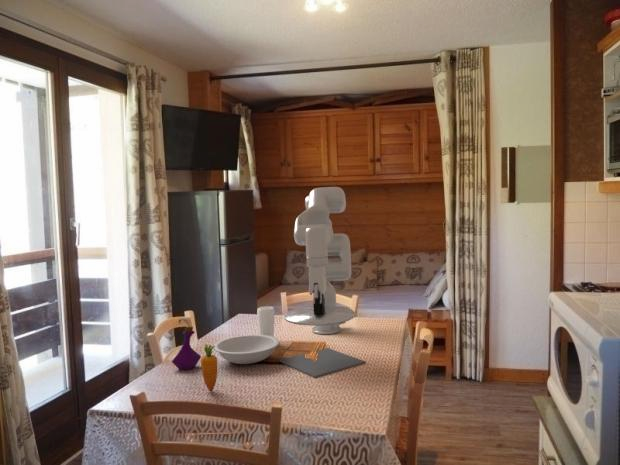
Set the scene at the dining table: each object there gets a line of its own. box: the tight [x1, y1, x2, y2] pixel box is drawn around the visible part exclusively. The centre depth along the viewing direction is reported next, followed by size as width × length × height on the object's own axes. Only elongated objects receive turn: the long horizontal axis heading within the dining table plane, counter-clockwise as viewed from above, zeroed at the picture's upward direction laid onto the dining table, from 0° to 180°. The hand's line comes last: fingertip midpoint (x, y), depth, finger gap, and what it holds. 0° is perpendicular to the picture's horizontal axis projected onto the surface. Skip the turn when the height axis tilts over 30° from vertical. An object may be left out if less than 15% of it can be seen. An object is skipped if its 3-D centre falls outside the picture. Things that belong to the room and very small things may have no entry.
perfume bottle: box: [171, 317, 202, 371], centre depth 182 cm, size 8×8×18 cm
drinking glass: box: [256, 306, 275, 337], centre depth 206 cm, size 7×7×15 cm
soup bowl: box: [213, 334, 280, 365], centre depth 187 cm, size 24×24×7 cm
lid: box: [283, 297, 356, 327], centre depth 181 cm, size 25×25×6 cm
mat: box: [278, 347, 366, 379], centre depth 182 cm, size 22×22×1 cm
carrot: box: [200, 343, 218, 393], centre depth 158 cm, size 5×5×15 cm
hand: (319, 312), depth 181 cm, fingers closed on lid, 4 cm apart
